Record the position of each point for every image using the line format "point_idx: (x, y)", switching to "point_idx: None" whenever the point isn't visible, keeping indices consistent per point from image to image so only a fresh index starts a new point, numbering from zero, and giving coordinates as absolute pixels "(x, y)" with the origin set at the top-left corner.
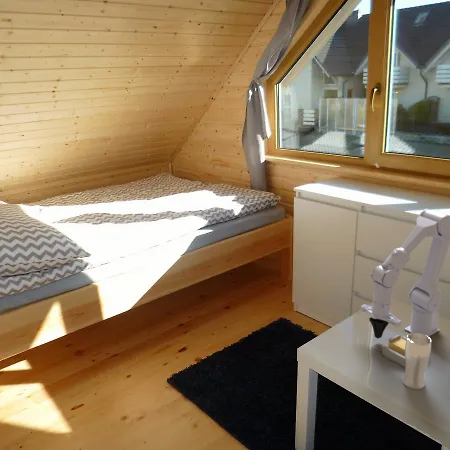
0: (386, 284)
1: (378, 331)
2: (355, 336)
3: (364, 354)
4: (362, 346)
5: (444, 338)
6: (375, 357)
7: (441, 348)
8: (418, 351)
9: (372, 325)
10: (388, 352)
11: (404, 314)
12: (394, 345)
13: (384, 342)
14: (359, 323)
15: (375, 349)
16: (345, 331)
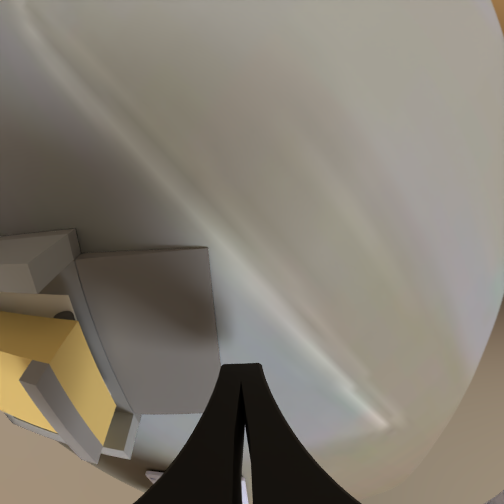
0: None
1: (202, 431)
2: (408, 267)
3: (160, 95)
4: (274, 188)
5: (129, 484)
6: (77, 153)
7: None
8: None
9: (305, 465)
10: (4, 254)
11: None
12: (12, 347)
13: (205, 372)
14: (437, 380)
15: (163, 250)
16: (476, 257)
